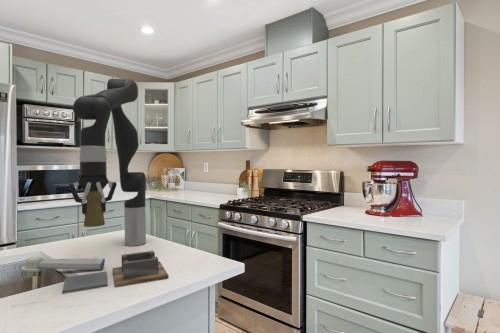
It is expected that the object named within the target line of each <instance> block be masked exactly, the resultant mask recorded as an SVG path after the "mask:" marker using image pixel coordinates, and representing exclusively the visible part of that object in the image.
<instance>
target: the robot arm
mask: <svg viewBox="0 0 500 333" xmlns="http://www.w3.org/2000/svg"><path fill="white" fill-rule="evenodd" d="M106 84H107V85H106V89H103V90H100V91H99V92H97V93H94V94H88V95H82V96H79V97H78V98H76V99H75V101H74V102H73V104H72V105H73V106H72V111H73V114H74V115H75V116H76V117H77V118H79V119H80V120H84V121H90V120H91V121H92V120H93V121H94V123H93V124H92V125H89V126H84V127H82V128H81V129H80V132H79V133H80V134H79V135H80V136H79V137H80V138H79V139H80V142H79V143H80V148H79V178H78V181H76V182H74V183H73V182H72V183H71V182H70V183H69V186H68V187H69V190H70V192H71V194H72V197H73V199H74V202H75V203H79V204H81V213H82V215H84V217H85V216H86V211H87V200H86V196H87V194H88V193H89V191H98V192H100V193H101V195H102V199H101V207H102V213H103V214H104V213H106V211H107V208H106V207H107V206H106V204H107V202H109V201H111V200H112V199H113V196H114V194H115V191H116V188H117V185H118V184H117V182H116V181H110V180H109V179H108V178H107V177H108V176H107V160H108V159H107V158H108V157H107V150H106V131H107V128H108V123H109V120H110V117H111V116H112V121H113V122H112V123H113V129H114V130H113V131H114V132H113V133H114V140H115V145H116V151H117V158H118V166H119V167H118V168H119V184H120V189H121V191H122V192H124V193H137V194H136V195H135V196H134V197H132V198H130V199H126V200H124V202H123V204H124V205H123V206H124V210H123V211H124V213H123V214H124V245H125V246H127V247H128V246H130V247H137V246H142V245H145V244H146V243H147V231H146V230H147V220H146V212H147V211H146V192H147V191H146V188H147V177H146V174H145V173H144V172H143V171H135V172H134V171H133V172H132V171H130V172H129V165H130V163H131V161H132V158H133V157H134V156H135V155H136V152H137V151H138V148H139V144H140V143H139V136H138V130H137V129H136V127H135V126H134V124H133V123H132V122H131V120H130V119H129V117H127V115H126V114H125V112H124V110H123V107H122V105H125V104H127V103H133V102H135V101H137V99H138V96H139V88H138V85H137V83H136V82H135V80H133V79H129V78H109V79H108V80H107V83H106ZM107 185H108V188H109V192H108V195H107V196H106V197H105V194H104V191H103V190H104V189H105V187H106V186H107ZM78 186H80V187H81V188H82V190H83V191H84V192H83V196H82V198H80V196H79V194H78V191H77V190H78V188H79V187H78ZM86 192H87V193H86Z"/></svg>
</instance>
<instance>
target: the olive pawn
mask: <svg viewBox="0 0 500 333" xmlns="http://www.w3.org/2000/svg"><path fill="white" fill-rule="evenodd" d="M86 193H87V192H86ZM101 199H102V195H101V193H100V192H98V191H89V193H88V194H87V196H86V200H87V201H86V203H87V211H86V216H85V215H84V222H83V227H84V228H86V227H87V228H95V227H102V226H104V225H105V224H106V221H105V215H104V213H102V207H101Z"/></svg>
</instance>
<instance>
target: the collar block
mask: <svg viewBox="0 0 500 333" xmlns="http://www.w3.org/2000/svg"><path fill="white" fill-rule="evenodd" d="M112 275H113V281H114V288H119V287H125V286H130V285H131V286H132V285H136V284H144V283H149V282H155V281H162V280H166V279H169V273H168V272H167V270H166V269H165V267H164V266H163V264H162V263H161V261H160V260H159V257H158V256H156V253H155V251H154V250H149V251H141V252H134V253H126V254H121V266H118V267H113V268H112Z"/></svg>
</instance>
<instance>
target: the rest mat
mask: <svg viewBox="0 0 500 333" xmlns="http://www.w3.org/2000/svg"><path fill="white" fill-rule="evenodd" d="M108 282H109V281H108V273H107V271H99V272H93V273H85V274H79V275H78V274H77V275H73V276H71V275H70V276H66V277H65V280H64V283H63V287H62V291H61V294H68V292H69V293H73V292H81V291H86V290H94V289H98V288H106V287H108V286H109V285H108V284H109V283H108Z"/></svg>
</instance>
